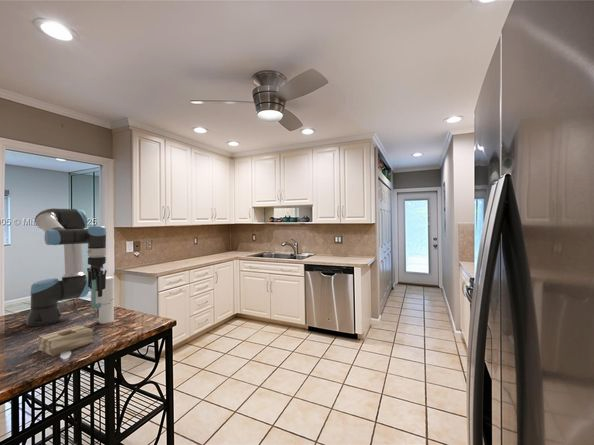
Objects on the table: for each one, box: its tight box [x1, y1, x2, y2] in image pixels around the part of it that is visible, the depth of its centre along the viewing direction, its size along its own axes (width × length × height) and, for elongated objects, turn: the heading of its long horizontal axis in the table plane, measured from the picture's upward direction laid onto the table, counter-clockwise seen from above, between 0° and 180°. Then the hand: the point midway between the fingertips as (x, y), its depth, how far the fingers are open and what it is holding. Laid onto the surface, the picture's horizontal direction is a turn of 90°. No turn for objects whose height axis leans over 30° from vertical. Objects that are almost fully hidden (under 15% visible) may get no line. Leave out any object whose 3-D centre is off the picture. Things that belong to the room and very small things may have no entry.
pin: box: [91, 279, 101, 310], centre depth 148 cm, size 4×4×14 cm
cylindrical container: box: [98, 276, 115, 324], centre depth 167 cm, size 7×7×25 cm
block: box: [38, 324, 94, 357], centre depth 134 cm, size 12×16×6 cm
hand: (96, 302), depth 148 cm, fingers closed on pin, 4 cm apart
